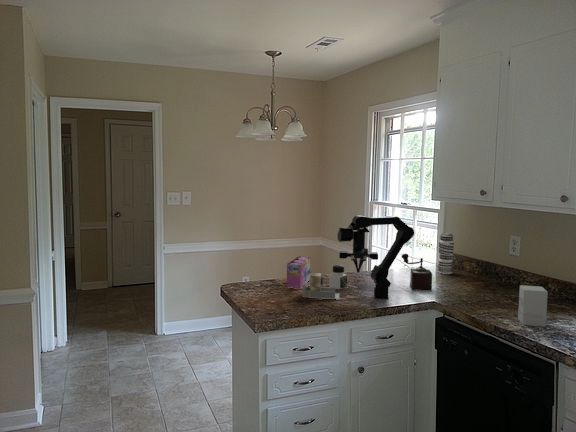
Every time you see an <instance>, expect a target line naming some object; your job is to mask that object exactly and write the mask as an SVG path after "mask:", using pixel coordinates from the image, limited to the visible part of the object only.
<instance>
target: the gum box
mask: <svg viewBox="0 0 576 432" xmlns="http://www.w3.org/2000/svg"><path fill="white" fill-rule="evenodd" d="M311 267H312V266H311V257H310V256H309V257H302V256H297V257H295V258H294V259H293V260H291V261H289V262H288V263H286V288H287V287H293V288H301V287H302V286H303V283H304V281H307V282H308V281H309V280H310V278H311V273H312V272H311V270H312V269H311ZM309 282H310V281H309ZM309 282H308V283H309ZM301 289H302V288H301Z"/></svg>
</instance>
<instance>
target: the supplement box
mask: <svg viewBox="0 0 576 432" xmlns="http://www.w3.org/2000/svg"><path fill="white" fill-rule="evenodd" d="M518 292H519V295H518V312H517V319H518V321H519V322H520V323H521V324H522V325H523V326H531V327H532V326H533V327H544V328H545V327H547V313H548V312H547V311H548V310H547V309H548V296H549V295H548V293H549V292H548V290H546V289H545V288H544V287H543V286H539V285H538V286H535V285H534V286H533V285H519V291H518Z"/></svg>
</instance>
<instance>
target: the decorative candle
mask: <svg viewBox="0 0 576 432" xmlns="http://www.w3.org/2000/svg"><path fill="white" fill-rule="evenodd" d="M439 236H440V237H439V242H438V247H439V248H438V255H439V258H438V263H437V264H438V267H437V268H438V269H437V270H438V271H437V273H438V272H439V274H441V273H442V275H450V274H453V266H454V265H453V255H454V252H453V251H454V248H455V247H454V245H455V243H454V235H453V234H452V233H451V232H442V233H441V234H440V235H439Z"/></svg>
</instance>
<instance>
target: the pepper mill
mask: <svg viewBox="0 0 576 432" xmlns="http://www.w3.org/2000/svg"><path fill="white" fill-rule="evenodd" d="M401 259H403V263H405V264H407V265H415V264H420V266H418V267H417V268H411V269H410V280H409V281H410V282H409V288H410V289H411V290H412V291H432V290H433V289H432V287H433V273H432V272H431V270H430V269H428V268H425V267H424V266H423V262H424V260H423V259H424V258H423V257H420V260H419V261H412V262H410V261H409V254H407V253H403V254H402V255H401Z"/></svg>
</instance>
